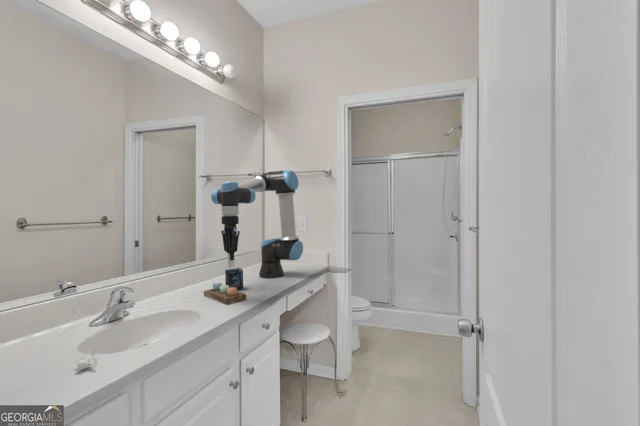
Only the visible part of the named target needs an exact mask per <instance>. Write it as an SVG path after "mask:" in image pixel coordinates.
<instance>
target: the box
mask: <svg viewBox="0 0 640 426" xmlns="http://www.w3.org/2000/svg"><path fill="white" fill-rule="evenodd" d="M224 271H225V273H224V274H225V278H224V280H225V281H224V282H225V284H224V285H229V288H231V287H236V288H237V291H241V290H244V270H243V268H241V267H238V268H237V267H236V268H229V269H224Z"/></svg>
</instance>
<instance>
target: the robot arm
mask: <svg viewBox="0 0 640 426" xmlns="http://www.w3.org/2000/svg"><path fill="white" fill-rule="evenodd" d="M299 184H300V183H299V178H298V176H297V174H296V172H294V171H293V170H291V169H290V170H286V169H285V170H275V171H268V172H265V173H261V174H260V175H257V176H255V177H253V178H252V179H251V180H247V181H244V182H241V183H240V182H239V183H238V182H236V181H223V182H222V183H221V187H220V188H217V189H214V190H213V191H211V194H210V199H211V201H212V202H213V204H215V205H221V209H220V211H221V215H222V216H221V224H222V225H224V227H223V230H221V232H220V233H221V235H222V243H223V244H222V245H223V251H224V252H226V263H227V264H226V265H227V268H229V269H231V268H234V267H235V253H236V252H238V247H239V239H240V238H239V237H240V235H241V234H240V233H241V231H240V230H237V228H238V227H237V225H238V224H239V219H240V218H239V216H238V215H239V204H246V205H248V204H252V203H253V202H254V201H256V193H257V192H258V193H262V192H275V195H276V196H278V205H279V206H278V207H279V218H280V229H281V230H280V232H281V236H280V237H278V238H270V239H263V240H262V241H261V245H260V246H261V247H260V248H261V265H260V269H259V272H258V275H259V276H258V277H260V278H263V279H274V278H281V277H284V270H283V267H282V263H281V260H285V261H297V260H299V259H300V258H301V257H302V255H303V252H304V244H303V242H302V241H301V240H300V239H299V236H297V234H296V233H297V231H296V221H295V219H296V218H295V217H296V216H295V204H294V203H295V202H294V195H295V194H296V190H297V189H298V188H299Z"/></svg>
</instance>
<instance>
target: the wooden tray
mask: <svg viewBox="0 0 640 426" xmlns="http://www.w3.org/2000/svg"><path fill="white" fill-rule="evenodd" d="M203 296H204V297H206V298H209V299H210V300H214V301H216V302H218V303H221V304H224V305H230V304H235V303H238V302H243V301H247V293H244V292H241V291H239V290H237V296H233V297H228V296H227V294H220V291H217V292H214V291H213V288H210V289H205V290H203Z"/></svg>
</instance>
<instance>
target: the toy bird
mask: <svg viewBox="0 0 640 426" xmlns="http://www.w3.org/2000/svg"><path fill="white" fill-rule="evenodd" d="M90 351H91V352H90V354H89V356H87V357H81V358H78V359H77V360H75V361H74V362H72V364H75V365H77V366H76V367H77V369H78V370H80V371H83V369H85V370H86V369H88V368H89V367H90V366H93V367H94V366H98V358H99V357H98V356H97V357H95V355H96V353H97V352H98V350H94V349H91V350H90Z"/></svg>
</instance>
